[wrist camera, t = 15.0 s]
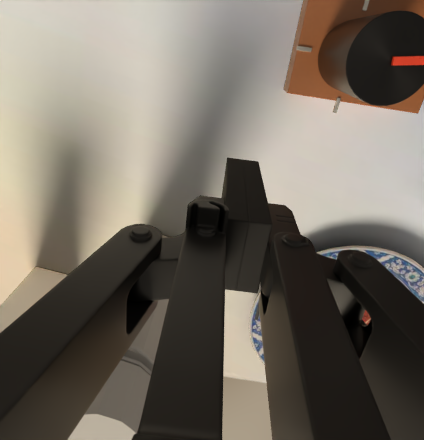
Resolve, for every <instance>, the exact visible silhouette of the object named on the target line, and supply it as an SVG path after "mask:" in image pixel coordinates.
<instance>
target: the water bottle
mask: <svg viewBox="0 0 424 440" xmlns="http://www.w3.org/2000/svg"><path fill="white" fill-rule="evenodd" d="M162 238H167V236H164V235H162ZM168 301H169V299H164V300H158V304H157V307H156V308H155V310H154V311H153V313H152V314H151V316H150V317H149V319H148V320H147V322H146V323H145V325H144V326H143V328H142V329H141V331H140V332H139V334H138V335H137V337H136V338H135V340H134V341H133V343H132V344H131V346H130V347H129V349H128V350H127V352H126V353H125V355H124V356H123V358H122V359H121V361H120V362H119V364H118V365H117V367H116V368H115V370H114V371H113V373H112V374H111V376H110V377H109V379H108V380H107V382H106V383H105V385H104V386H103V388H102V389H101V391H100V392H99V394H98V395H97V397H96V398H95V400H94V401H93V402H92V404H91V405H90V407H89V408H88V410H87V411H86V413H85V414H84V416H83V417H82V419H81V420H80V422H79V423H78V425H77V426H76V428H75V429H74V431H73V432H72V434H71V435H70V437H69V438H68V440H132V438H133V435H134V434H136V433H137V431H138V428H139V424H140V420H141V416H142V412H143V407H144V403H145V399H146V395H147V390H148V386H149V382H150V378H151V373H152V369H153V365H154V361H155V356H156V352H157V348H158V344H159V339H160V335H161V331H162V327H163V322H164V318H165V314H166V310H167V305H168Z"/></svg>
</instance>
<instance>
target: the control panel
mask: <svg viewBox="0 0 424 440" xmlns="http://www.w3.org/2000/svg"><path fill="white" fill-rule="evenodd" d="M399 10H402V11H410V12H413V13H416V14H418V15H420V16H422V17H423V18H424V0H303V4H302V8H301V13H300V18H299V22H298V27H297V31H296V36H295V40H294V45H293V49H292V54H291V59H290V63H289V68H288V72H287V77H286V81H285V86H284V90H285V91H286V92H287V93H291V94H297V95H303V96H310V97H316V98H323V99H329V100H335V101H336V103H335V106H334V109H333V112H334V113H337V110H338V106H339V103H340V101H342V102H348V103H354V104H361V105H367V106H374V107H380V108H386V109H393V110H399V111H405V112H412V113H418V112H419V110H420V107H421V105H422V102H423V99H424V84H423V86H422V87H421V88H420V89H419V90H418V91H417V92H416V93H414V94H413V95H412V96H410V97H409V98H407V99H406V100H404V101H402V102H399V103H397V104H394V105H389V106H375V105H371V104H368V103H365V102H363V101H361V100H359V99H357V98H354V97H352V96H350V95H348V94H346V93H343V92H341V91H339V90H337V89H335V88H333V87H331V86H329V85H328V84H327V83H326V82H325V81H324V79H323V78H322V76H321V74H320V72H319V68H318V54H319V50H320V47H321V44H322V42H323V40H324V39H325V37H326V36H327V34H328V33H329V32H330V31H331V30H332V29H333V28H335V27H336V26H337V25H339V24H341V23H343V22H345V21H348V20H352V19H357V18H362V17H367V16H372V15H377V14H382V13H386V12H391V11H399Z"/></svg>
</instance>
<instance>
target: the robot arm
mask: <svg viewBox="0 0 424 440" xmlns="http://www.w3.org/2000/svg"><path fill="white" fill-rule="evenodd" d="M259 284H261V293H260V297H259V302H258V306H257V311H256V315H255V320H258V317H259V315H260V323H261V332H262V342H263V352H264V362H265V371H266V381H267V391H268V401H269V410H270V420H271V430H272V439H273V440H424V304H423V303H422V302H421V301H420V300H419V299H418V298H417V297H416V296H415V295H414V294H413V293H412V292H411V291H410V290H409V289H408V288H407V287H405V286H404V285H403V284H402V283H401V282H400V281H399V280H398V279H397V278H396V277H395V276H394V275H393V274H392V273H391V272H390V271H389V270H388V269H387V268H386V267H384V266H383V265H382V264H381V263H380V262H379V261H378V260H377V259H375V258H374V257H373V256H371V255H369V254H367V253H366V252H363V251H360V250H350V249H348V250H342V251H340V252H339V253H338V256H337V259H333V258H329V257H326V256H323V255H320V254H318V253H316V251H315V249H314V246H313V244H312V243H311V241H310V240H309V239H307V238H306V237H304V236H302V235H300V232H299V229H298V227H297V224H296V221H295V219H294V216H293V213H292V211H291V210H290V209H289V208H287V207H286V206H285V205H278V204H270V203H268V202H267V198H266V193H265V189H264V185H263V180H262V176H261V172H260V167H259V163H258V162H257V161H249V160H241V159H233V158H227V163H226V170H225V177H224V184H223V191H222V198H215V197H208V196H199V197H198V198H196V199H195V200H194V201H193V202H190V203H189V205H188V209H187V219H186V229H185V232H184V233H183V234H181V235H179V236H175V237H167V238H162V233H161V231H160V230H158V229H157V228H155V227H153V226H150V225H145V224H134V225H131V226H127V227H125V228H123V229H121V230H120V231H119V232H118V233H117V234H115V235H114V236H113V237H112V238H111V239H109V240H108V241H107V242H106V243H105V244H104V245H102V246H101V247H100V248H99V249H98V250H97V251H95V252H94V253H93V254H92V255H91V256H90V257H88V258H87V259H86V260H85V261H84V262H83V263H81V264H80V265H79V266H78V267H77V268H76V269H74V270H73V271H72V272H71V273H70V274H69V275H67V276H66V277H65V278H64V279H63V280H62V281H60V282H59V283H58V284H57V285H56V286H55V287H53V288H52V289H51V290H50V291H49V292H48V293H46V294H45V295H44V296H43V297H42V298H41V299H39V300H38V301H37V302H36V303H35V304H34V305H32V306H31V307H30V308H29V309H28V310H27V311H25V312H24V313H23V314H22V315H21V316H20V317H18V318H17V319H16V320H15V321H14V322H13V323H11V324H10V325H9V326H8V327H7V328H5V329H4V330H3V331H2V332H1V333H0V440H68V438H69V437H70V435H71V434H72V432H73V431H74V429H75V428H76V426H77V425H78V423H79V422H80V420H81V419H82V417H83V416H84V414H85V413H86V411H87V410H88V408H89V407H90V405H91V404H92V402H93V401H94V400H95V398H96V397H97V395H98V394H99V392H100V391H101V389H102V388H103V386H104V385H105V383H106V382H107V380H108V379H109V377H110V376H111V374H112V373H113V371H114V370H115V368H116V367H117V365H118V364H119V362H120V361H121V359H122V358H123V356H124V355H125V353H126V352H127V350H128V349H129V347H130V346H131V344H132V343H133V341H134V340H135V338H136V337H137V335H138V334H139V332H140V331H141V329H142V328H143V326H144V325H145V323H146V322H147V320H148V319H149V317H150V316H151V314H152V313H153V311H154V310H155V308H156V307H157V304H158V300H164V299H169V301H168V305H167V310H166V314H165V318H164V322H163V327H162V331H161V335H160V339H159V344H158V348H157V352H156V356H155V361H154V365H153V369H152V373H151V378H150V382H149V386H148V390H147V395H146V399H145V403H144V407H143V412H142V416H141V420H140V424H139V428H138V431H137V433H136V434H134V435H133V438H132V440H222V411H223V410H222V409H223V359H224V306H225V289H227V290H235V291H243V292H251V293H258V289H259ZM365 310H366V311H367V313H368V314H369V316H370V318H371V320H370V322H369V324H368V325H367V324H366V323H365V322H364V321H363V320H362V318H363V315H364V313H365Z"/></svg>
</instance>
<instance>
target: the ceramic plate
mask: <svg viewBox="0 0 424 440" xmlns="http://www.w3.org/2000/svg"><path fill="white" fill-rule="evenodd" d="M348 249H350V250H360V251H363V252H366V253H367V254H369V255H371V256H373V257H374V258H375V259H377V260H378V261H379V262H380V263H381V264H382V265H383V266H384V267H386V268H387V269H388V270H389V271H390V272H391V273H392V274H393V275H394V276H395V277H396V278H397V279H398V280H399V281H400V282H401V283H402V284H403V285H404V286H405V287H407V288H408V289H409V290H410V291H411V292H412V293H413V294H414V295H415V296H416V297H417V298H418V299H419V300H420V301H421V302H422V303H423V304H424V267H423V266H421V265H420V264H418V263H417V262H415V261H414V260H412V259H411V258H409V257H407V256H405V255H403V254H400V253H397V252H395V251H391V250H388V249H384V248H378V247H372V246H342V247H336V248H330V249H326V250H322V251H319V252H316V253H318V254H320V255H323V256H326V257H329V258H333V259H337V256H338V253H339V252H340V251H342V250H348ZM260 293H261V292H260ZM260 293H259V295H258V297H257V298H256V300H255V303H254V305H253V307H252V311H251V315H250V320H249V333H250V339H251V343H252V346H253V348H254V350H255V352H256V354H257V356H258V357H259V359H260V360H261V361H262V363H263V364H264V365H265V362H264V352H263V342H262V332H261V323H260V315H259V317H258V320H255V315H256V311H257V306H258V302H259V297H260ZM362 320H363V321H364V322H365V323H366V324H367V325H368V324H369V322H370V320H371V318H370V316H369V314H368V313H367V311H366V310H365V313H364V315H363V318H362Z"/></svg>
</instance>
